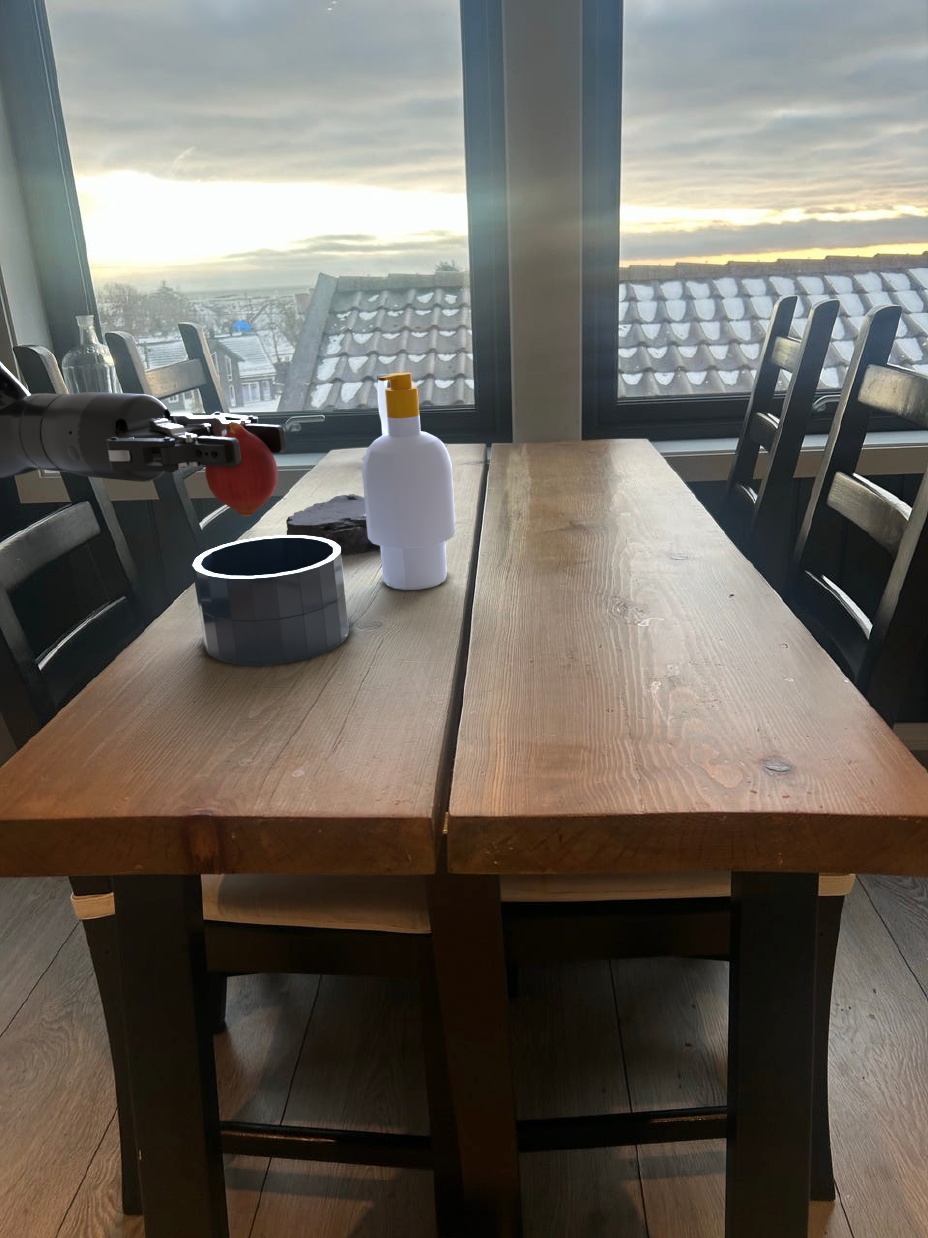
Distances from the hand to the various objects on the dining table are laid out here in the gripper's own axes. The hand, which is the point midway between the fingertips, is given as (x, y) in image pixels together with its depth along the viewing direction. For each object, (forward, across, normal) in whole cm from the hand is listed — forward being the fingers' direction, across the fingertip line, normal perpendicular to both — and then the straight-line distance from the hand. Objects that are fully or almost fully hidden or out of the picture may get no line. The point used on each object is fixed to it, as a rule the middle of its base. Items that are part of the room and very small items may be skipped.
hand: (260, 445), depth 81 cm
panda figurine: (-48, +97, +23) cm, 111 cm away
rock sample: (-24, +45, +23) cm, 56 cm away
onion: (-2, 0, +6) cm, 7 cm away
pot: (-10, +12, +23) cm, 28 cm away
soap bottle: (-6, +33, +23) cm, 40 cm away
